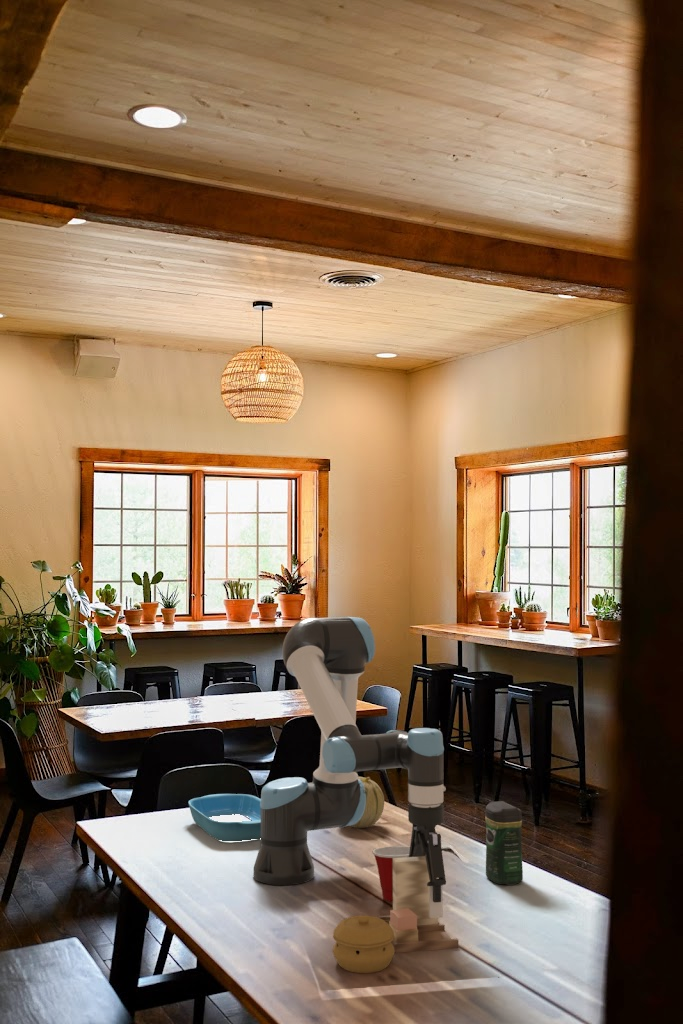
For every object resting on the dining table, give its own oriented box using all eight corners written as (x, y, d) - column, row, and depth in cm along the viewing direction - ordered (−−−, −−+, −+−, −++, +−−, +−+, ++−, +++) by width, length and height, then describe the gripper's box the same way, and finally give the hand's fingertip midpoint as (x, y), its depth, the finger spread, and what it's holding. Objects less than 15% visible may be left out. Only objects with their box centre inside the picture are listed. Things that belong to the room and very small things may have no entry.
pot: (403, 978, 181) (403, 923, 182) (342, 986, 178) (342, 929, 178) (382, 954, 192) (382, 902, 193) (325, 961, 189) (325, 908, 189)
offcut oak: (396, 947, 193) (396, 931, 193) (389, 936, 199) (389, 921, 199) (418, 945, 194) (418, 930, 194) (410, 934, 199) (410, 919, 200)
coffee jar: (527, 884, 236) (526, 806, 237) (498, 887, 233) (497, 808, 235) (510, 872, 245) (509, 797, 246) (481, 875, 243) (480, 799, 244)
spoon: (447, 845, 271) (447, 839, 271) (480, 866, 252) (480, 860, 252) (433, 847, 270) (433, 841, 270) (466, 868, 250) (466, 861, 250)
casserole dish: (293, 841, 275) (293, 815, 276) (218, 851, 266) (219, 824, 266) (247, 813, 308) (247, 790, 309) (179, 821, 298) (179, 797, 299)
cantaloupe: (338, 820, 298) (338, 770, 299) (386, 821, 296) (386, 771, 297) (331, 832, 283) (331, 780, 284) (381, 834, 281) (381, 781, 282)
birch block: (396, 931, 201) (395, 862, 202) (392, 926, 204) (392, 858, 205) (438, 928, 203) (437, 859, 204) (434, 923, 206) (433, 855, 207)
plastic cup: (407, 892, 230) (406, 840, 231) (428, 906, 220) (427, 852, 221) (365, 898, 226) (364, 845, 227) (384, 912, 216) (383, 857, 217)
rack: (394, 958, 190) (394, 944, 190) (377, 929, 206) (377, 916, 206) (458, 953, 192) (458, 939, 193) (436, 925, 208) (436, 912, 208)
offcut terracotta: (398, 930, 194) (398, 917, 194) (390, 922, 198) (390, 910, 198) (417, 928, 195) (416, 915, 195) (408, 920, 199) (408, 908, 199)
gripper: (460, 816, 194) (461, 925, 193) (427, 790, 219) (428, 886, 217) (424, 818, 193) (425, 928, 192) (395, 791, 217) (395, 888, 216)
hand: (426, 906), depth 204 cm, fingers open, 13 cm apart
